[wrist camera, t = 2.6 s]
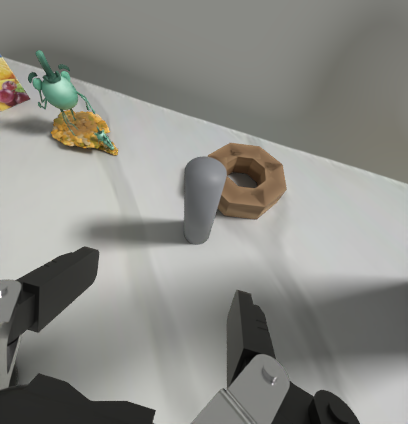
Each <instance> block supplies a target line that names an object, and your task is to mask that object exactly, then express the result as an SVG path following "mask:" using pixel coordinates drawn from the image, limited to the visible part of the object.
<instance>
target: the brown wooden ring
mask: <svg viewBox="0 0 408 424" xmlns="http://www.w3.org/2000/svg"><path fill="white" fill-rule="evenodd" d="M208 157H211V158H214V159H216V160H218V161H220V162H221V163H222V164H223V165H224V167H225V168H226V171H227V176H228V175H229V174H231V173H232V172H236V173H245V174H248V175H249V176H250V177H251V178H252V179H253V180H254V181H256V182H257V187H256V188H248V187H239V186H237V185H236V184H235V183H234V182H233V181H232V180H231V179H230V178H229V177H226V180H225V184H224V187H223V191H222V194H221V197H220V201H219V204H218V209H219V210H220V211H221V212H222V214H223V215H224V216H231V217H240V218H249V219H258V218H259V217H260V216H261V215H262V214H264V213H265V212H266V211H267V210H268V209H270V208H271V207H272V206H273V205H274V204H276V203H277V201H278V200H279V199H280V198H281V196H282V195H283V194H284V192H285V191H286V190H287V189H286V183H285V177H284V171H283V165H282V164H281V163H280V162H279V161H277V160H276V159H275V158H274V157H272V156H271V155H270V154H268V153H267V152H266V151H265V150H263V149H262V148H261V147H260V146H252V145H244V144H236V143H229V144H227V145H225V146H224V147H222V148H220V149H218V150H217V151H215V152H213V153H211V154H209V155H208Z"/></svg>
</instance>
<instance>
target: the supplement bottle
mask: <svg viewBox="0 0 408 424" xmlns="http://www.w3.org/2000/svg"><path fill="white" fill-rule="evenodd" d="M16 383H17V368H16V365H15V363H14V367H13V370H12V374H11V378H10V382H9V387H13V386H16ZM9 387H8V388H9Z"/></svg>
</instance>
